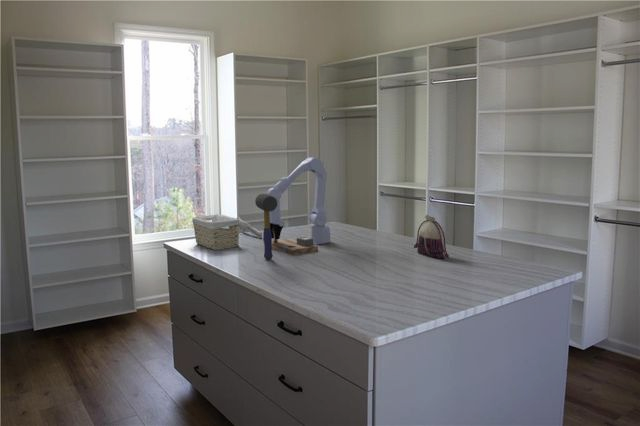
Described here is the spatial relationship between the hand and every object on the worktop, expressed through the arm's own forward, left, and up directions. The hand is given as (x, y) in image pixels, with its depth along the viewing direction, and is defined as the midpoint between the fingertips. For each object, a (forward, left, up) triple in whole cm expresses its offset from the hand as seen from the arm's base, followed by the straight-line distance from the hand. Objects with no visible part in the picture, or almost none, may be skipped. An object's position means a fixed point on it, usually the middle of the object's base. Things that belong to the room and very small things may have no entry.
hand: (275, 238), depth 279 cm
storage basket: (+21, -24, -5) cm, 32 cm away
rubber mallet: (+17, +22, -4) cm, 28 cm away
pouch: (-43, +65, -4) cm, 78 cm away
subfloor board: (-4, +9, -4) cm, 11 cm away
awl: (0, 0, -2) cm, 2 cm away
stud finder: (-8, +15, -2) cm, 17 cm away
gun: (-6, -39, -5) cm, 39 cm away
